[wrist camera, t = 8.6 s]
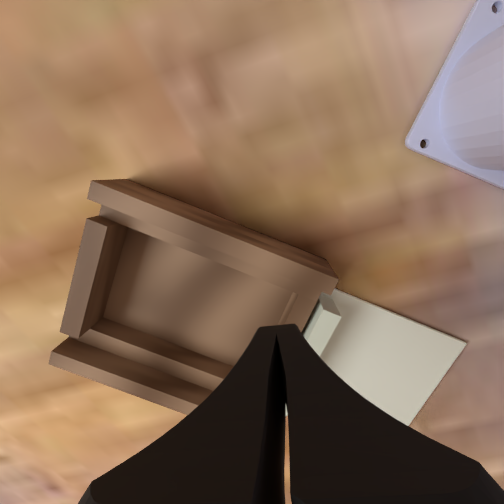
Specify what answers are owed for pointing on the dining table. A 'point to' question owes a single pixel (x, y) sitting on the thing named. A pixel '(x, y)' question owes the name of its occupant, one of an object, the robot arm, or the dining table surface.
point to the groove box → (176, 295)
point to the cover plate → (380, 352)
